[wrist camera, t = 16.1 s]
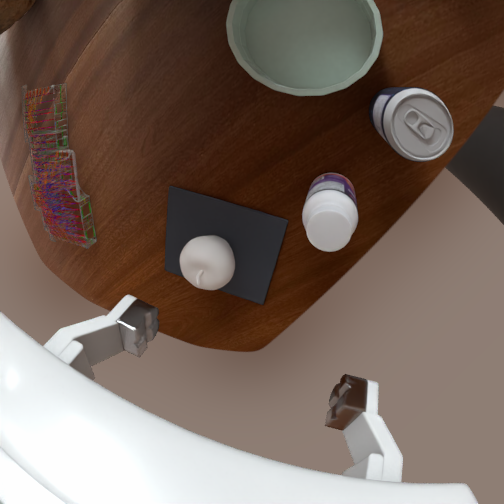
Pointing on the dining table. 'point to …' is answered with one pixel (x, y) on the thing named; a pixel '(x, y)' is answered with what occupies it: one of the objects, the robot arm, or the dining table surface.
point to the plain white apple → (207, 262)
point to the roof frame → (54, 170)
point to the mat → (226, 238)
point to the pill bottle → (330, 212)
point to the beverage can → (412, 122)
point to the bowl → (12, 12)
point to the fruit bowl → (305, 42)
